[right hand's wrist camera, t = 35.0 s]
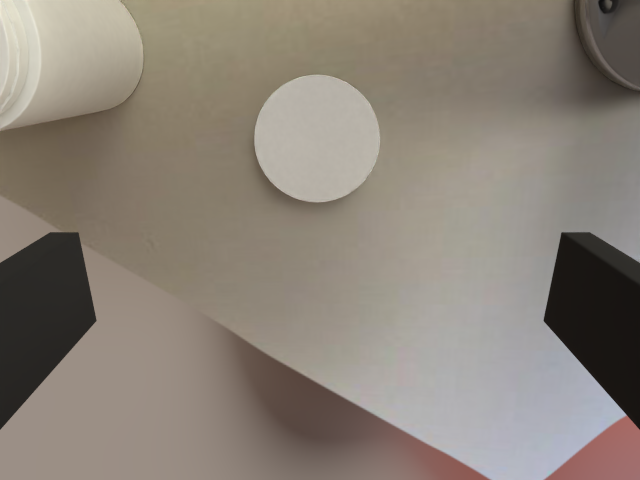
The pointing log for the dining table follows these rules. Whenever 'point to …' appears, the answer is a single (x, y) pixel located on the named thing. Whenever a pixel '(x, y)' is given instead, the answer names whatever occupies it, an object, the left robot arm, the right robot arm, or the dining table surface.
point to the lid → (317, 138)
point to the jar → (65, 59)
